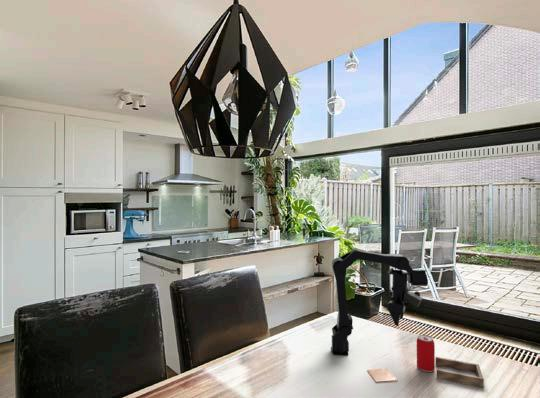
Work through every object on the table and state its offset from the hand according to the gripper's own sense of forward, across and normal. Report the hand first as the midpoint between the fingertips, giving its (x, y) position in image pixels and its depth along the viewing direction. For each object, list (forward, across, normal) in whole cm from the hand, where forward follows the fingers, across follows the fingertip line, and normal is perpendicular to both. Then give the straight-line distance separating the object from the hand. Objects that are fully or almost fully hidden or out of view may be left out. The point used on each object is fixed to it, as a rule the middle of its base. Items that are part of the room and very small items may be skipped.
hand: (398, 322), depth 136 cm
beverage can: (+14, -6, -11) cm, 19 cm away
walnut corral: (+13, -5, -21) cm, 26 cm away
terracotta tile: (+14, -20, +2) cm, 25 cm away
